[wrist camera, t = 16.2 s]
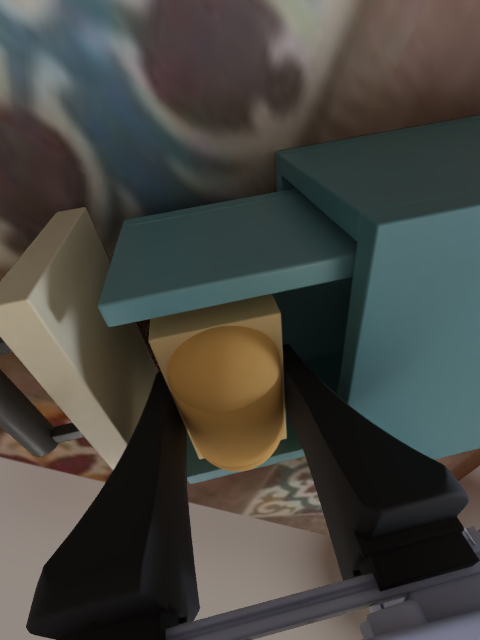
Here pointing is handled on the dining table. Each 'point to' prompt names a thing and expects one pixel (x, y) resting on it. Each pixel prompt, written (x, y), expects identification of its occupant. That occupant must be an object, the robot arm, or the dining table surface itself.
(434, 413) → the cabinet
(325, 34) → the dining table surface
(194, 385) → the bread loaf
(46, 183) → the dining table surface
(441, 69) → the dining table surface
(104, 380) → the drawer
